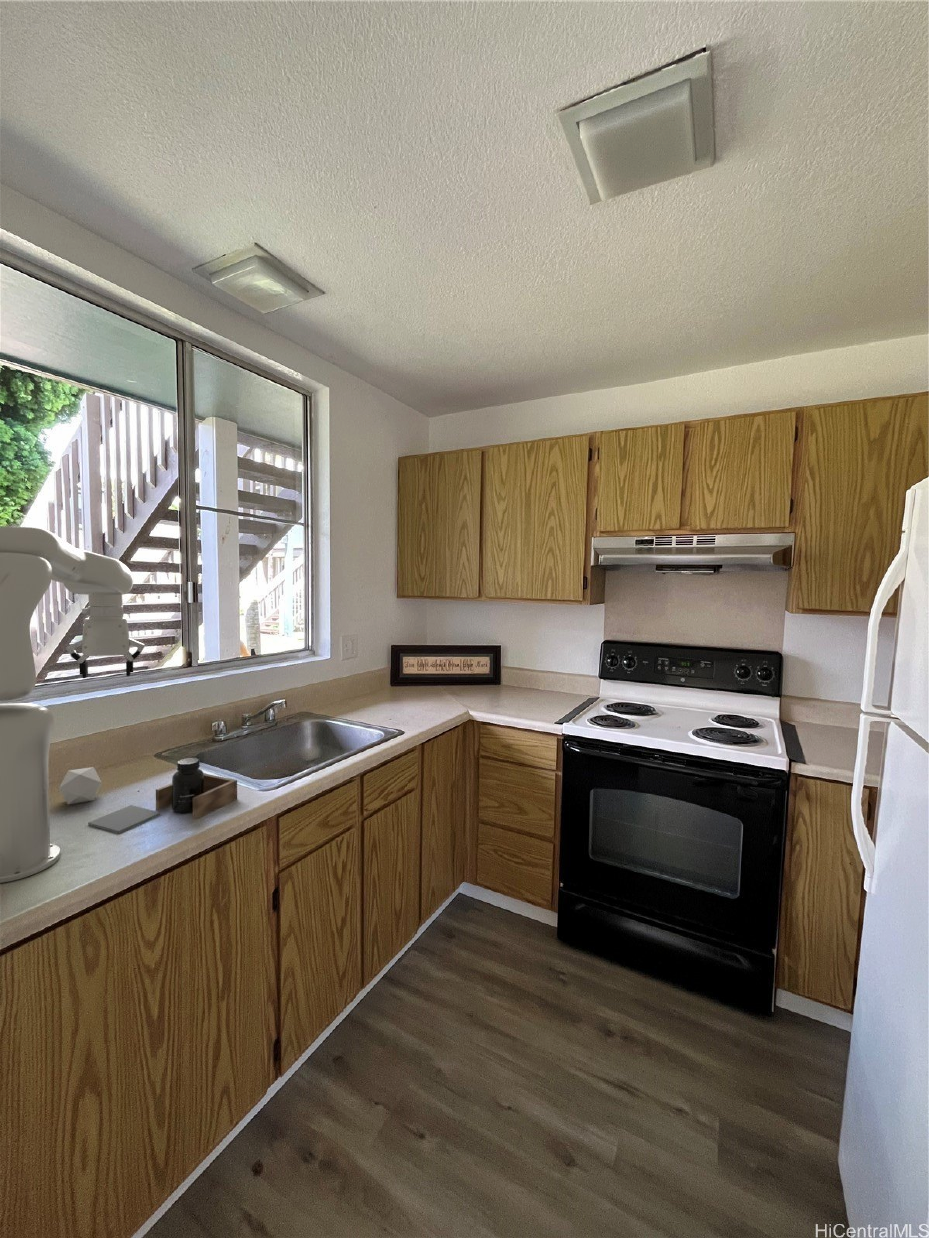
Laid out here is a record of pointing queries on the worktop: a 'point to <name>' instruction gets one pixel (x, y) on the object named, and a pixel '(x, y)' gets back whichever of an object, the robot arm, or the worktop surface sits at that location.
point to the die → (80, 785)
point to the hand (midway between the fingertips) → (107, 676)
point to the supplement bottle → (186, 785)
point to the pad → (124, 819)
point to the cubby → (203, 795)
